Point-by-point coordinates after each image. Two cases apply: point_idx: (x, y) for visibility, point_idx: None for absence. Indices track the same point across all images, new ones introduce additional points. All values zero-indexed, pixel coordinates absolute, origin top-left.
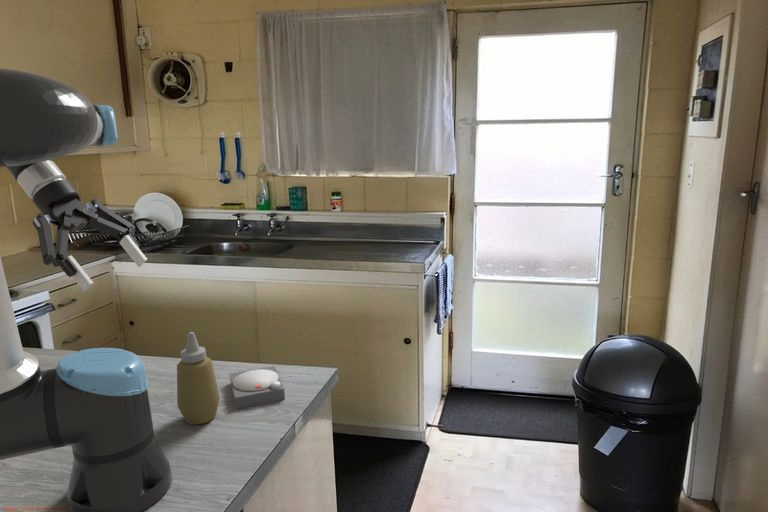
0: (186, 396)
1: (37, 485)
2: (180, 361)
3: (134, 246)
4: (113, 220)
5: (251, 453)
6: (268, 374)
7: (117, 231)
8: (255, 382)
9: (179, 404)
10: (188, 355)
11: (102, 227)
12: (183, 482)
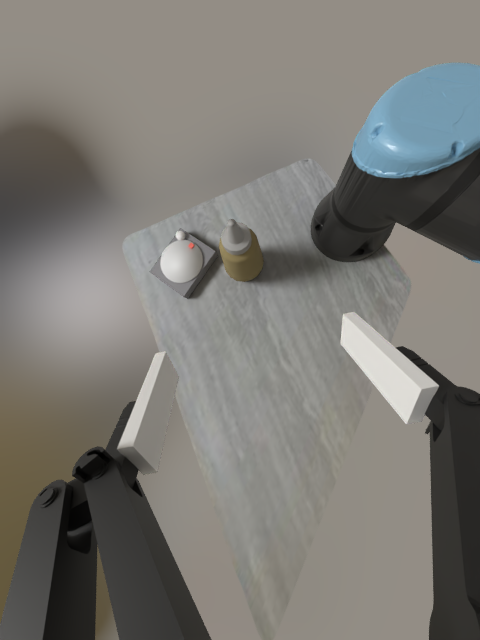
0: (260, 249)
1: (386, 288)
2: (246, 256)
3: (149, 393)
4: (64, 623)
5: (259, 191)
6: (167, 258)
7: (133, 496)
8: (186, 255)
9: (262, 263)
10: (247, 228)
11: (172, 579)
12: (313, 200)
